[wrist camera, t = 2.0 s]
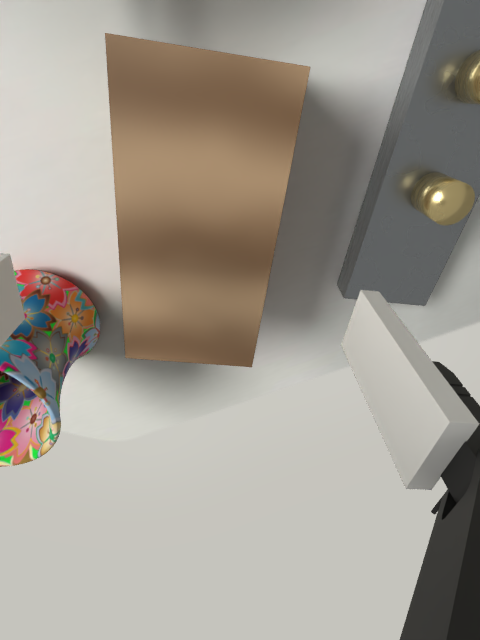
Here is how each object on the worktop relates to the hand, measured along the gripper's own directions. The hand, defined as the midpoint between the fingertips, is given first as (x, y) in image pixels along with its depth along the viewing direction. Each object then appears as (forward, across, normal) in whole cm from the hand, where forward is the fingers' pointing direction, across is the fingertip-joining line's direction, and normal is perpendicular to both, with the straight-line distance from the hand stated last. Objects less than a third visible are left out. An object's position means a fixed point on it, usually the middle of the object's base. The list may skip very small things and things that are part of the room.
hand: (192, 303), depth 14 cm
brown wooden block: (+12, 0, 0) cm, 12 cm away
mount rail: (+12, +14, +6) cm, 20 cm away
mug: (+13, -13, -10) cm, 21 cm away
